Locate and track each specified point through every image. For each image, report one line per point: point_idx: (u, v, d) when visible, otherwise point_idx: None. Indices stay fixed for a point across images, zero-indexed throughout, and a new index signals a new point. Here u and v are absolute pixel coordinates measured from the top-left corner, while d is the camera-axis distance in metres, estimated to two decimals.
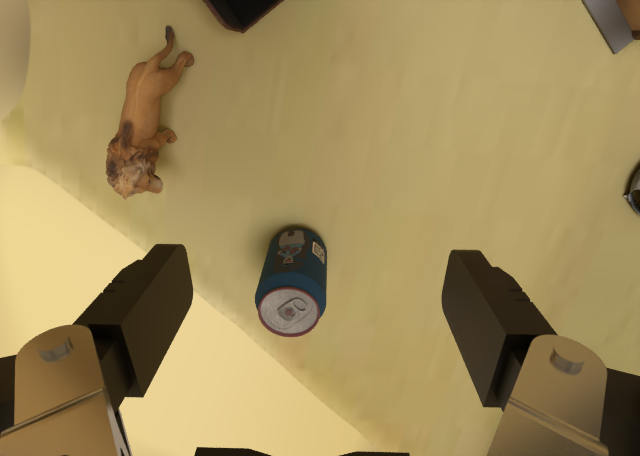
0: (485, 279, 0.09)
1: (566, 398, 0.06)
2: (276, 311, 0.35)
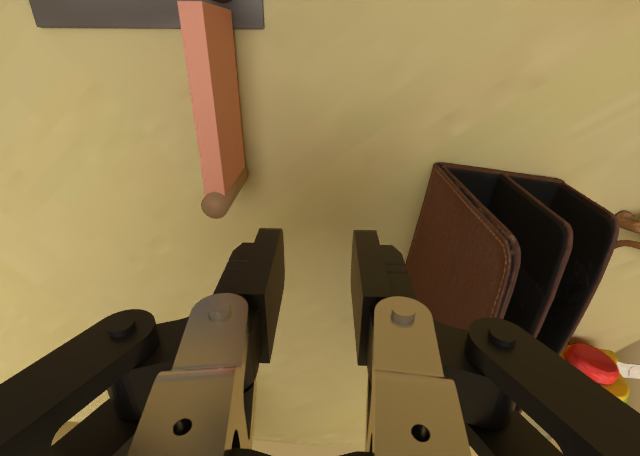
0: (368, 253, 0.10)
1: (384, 343, 0.07)
2: None
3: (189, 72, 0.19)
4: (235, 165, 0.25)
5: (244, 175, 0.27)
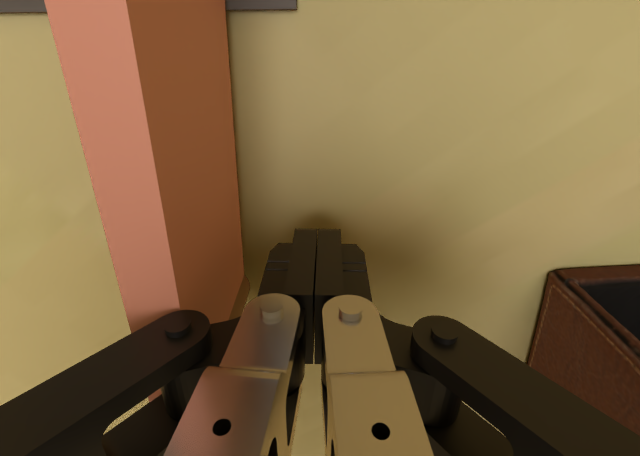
0: (327, 252, 0.10)
1: (326, 341, 0.07)
2: None
3: (84, 130, 0.06)
4: (225, 299, 0.12)
5: (243, 299, 0.14)
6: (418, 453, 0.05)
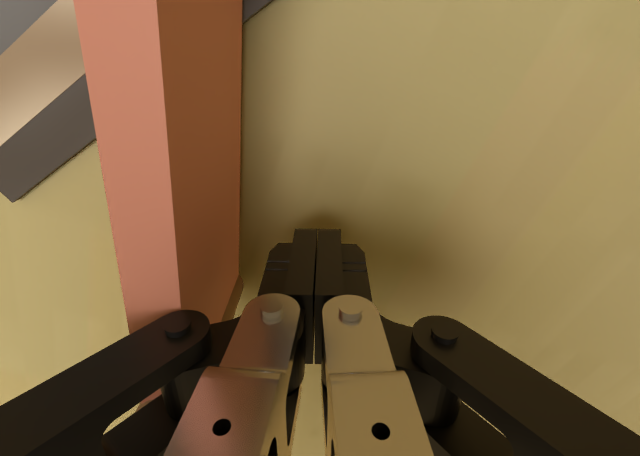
0: (328, 252, 0.10)
1: (326, 341, 0.07)
2: None
3: (101, 130, 0.06)
4: (220, 299, 0.12)
5: (236, 299, 0.14)
6: (418, 452, 0.05)
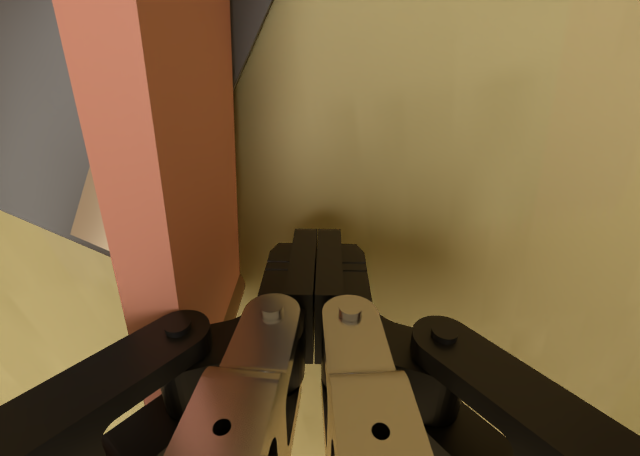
0: (327, 252, 0.10)
1: (326, 341, 0.07)
2: None
3: (88, 133, 0.06)
4: (221, 300, 0.12)
5: (238, 299, 0.14)
6: (418, 452, 0.05)
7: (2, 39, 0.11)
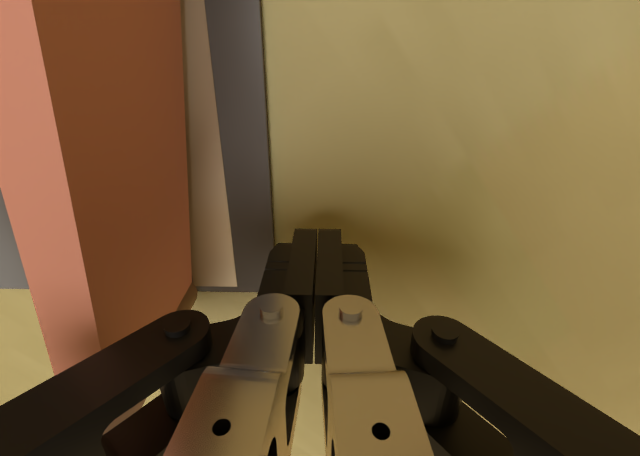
0: (328, 252, 0.10)
1: (326, 341, 0.07)
2: None
3: None
4: (162, 309, 0.12)
5: (186, 307, 0.14)
6: (418, 452, 0.05)
7: None
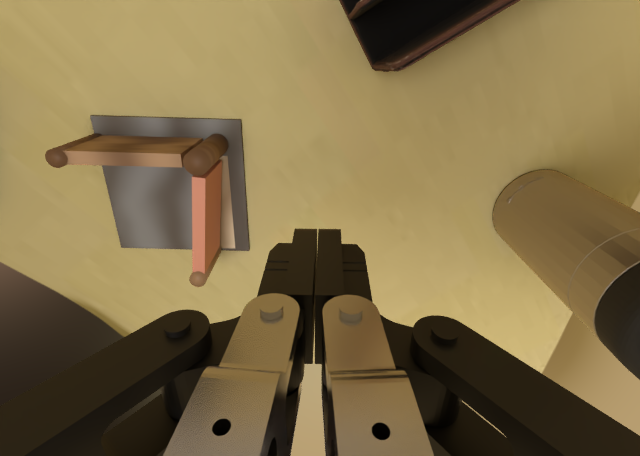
0: (328, 252, 0.10)
1: (326, 341, 0.07)
2: None
3: (193, 209, 0.34)
4: (213, 250, 0.40)
5: (218, 253, 0.42)
6: (418, 452, 0.05)
7: (184, 200, 0.41)
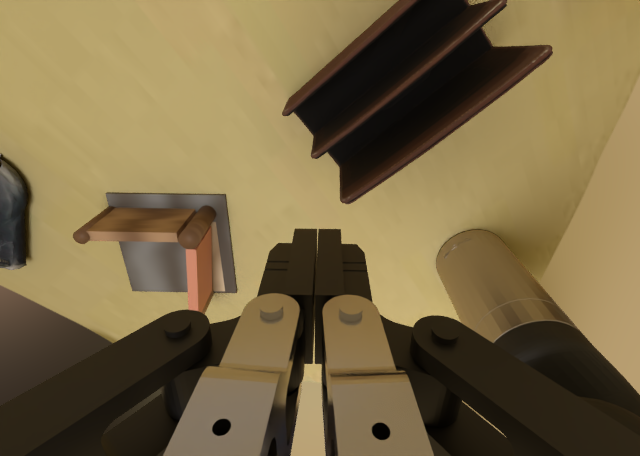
0: (328, 252, 0.10)
1: (326, 341, 0.07)
2: None
3: (187, 272, 0.43)
4: (206, 297, 0.49)
5: (211, 297, 0.51)
6: (419, 453, 0.05)
7: (182, 254, 0.50)
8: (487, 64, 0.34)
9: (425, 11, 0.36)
